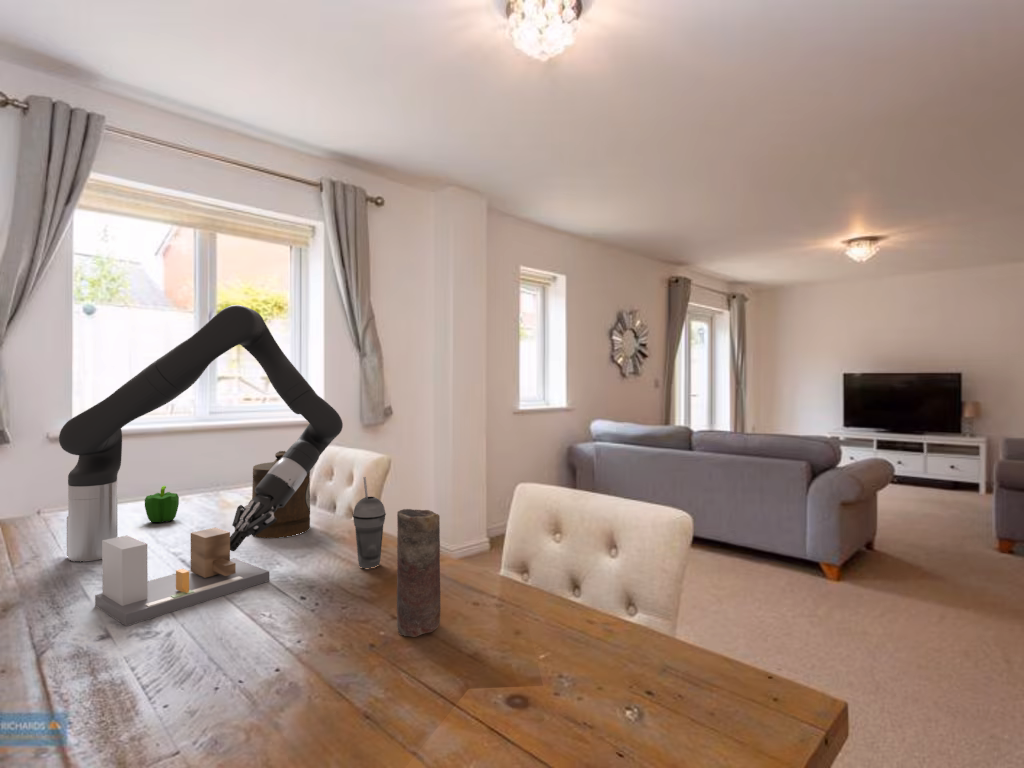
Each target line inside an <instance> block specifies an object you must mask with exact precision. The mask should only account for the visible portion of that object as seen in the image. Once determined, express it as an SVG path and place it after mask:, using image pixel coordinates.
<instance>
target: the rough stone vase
mask: <svg viewBox="0 0 1024 768" xmlns="http://www.w3.org/2000/svg"><path fill="white" fill-rule="evenodd" d="M396 513H397V515H396V516H397V517H396V518H397V519H396V520H397V525H396V527H397V532H396V533H397V535H396V537H397V544H396V545H397V546H396V547H397V549H396V553H397V559H396V561H397V563H396V564H397V565H396V567H397V569H396V573H397V574H396V576H397V577H396V628H397V632H398V634H399V633H400V634H401V635H400V634H399V635H400V636H402V635H404V636H403V637H413V638H417V637H419V636H421V635H423V634H427V633H432V632H434V631H436V629H438V628H439V626H440V623H441V618H442V617H441V563H440V562H441V561H440V560H441V537H440V534H441V533H440V532H441V531H440V528H441V527H440V514H438V513H436V512H434V511H432V510H429V509H412V508H403V509H399V510H398V511H397V512H396Z"/></svg>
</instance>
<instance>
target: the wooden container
mask: <svg viewBox="0 0 1024 768" xmlns="http://www.w3.org/2000/svg"><path fill="white" fill-rule="evenodd" d="M286 452H287V450H279V451H277V452H275V454H274V456H275V458H276V459H275V460H274V461H271V462H264V463H263V462H261V463H259V464H255V465H253V467H252V485H251V487H252V490H251V491H252V493H251V496H252V497H251V500H252V499H253V498H254V497H255V496H256V492H255V488H256V486H257V485H258V484H259V483H260V481H261V480H262V479H263V478H264V477H265V475H266V474H267V473H268V472H269V470H270V469H271V468H272V467H273V466H274V465H275V464H276V463H277V462H278V461H279V460H280V459H281V458H282V456H283V455H284V454H285V453H286ZM310 477H311V471H310V472H309V473H308V474H307V476H306V477H305V479H304V480H303V482H302V484H301V485H300V486H299V488H298V489H297V490H296V492H295V493H294V494H293V495H292V497H291V498H290V499H289V501H288V502H287V503H286V505H285V506H284V507H283V508H277V510H276V511H275V513H274V517H275V518H276V519H277V520H276V522H274V523H273V524H271V525H270V526H268V527H267V528H266V529H264V530H263V531H261V532H260V533H258V534H257V535H255V536H254V537H257V538H260V537H261V538H263V539H280V538H279V537H284V538H288V537H287V536H291V537H293V536H292V535H295V536H297V535H296V534H299V535H301V534H300V533H302V532H304V533H306V532H308V531H309V530H310V529H309V528H311V489H310V488H311V484H310V483H311V482H310V481H311V478H310ZM308 529H309V530H308ZM307 530H308V531H307ZM305 531H306V532H305ZM302 534H303V533H302ZM261 538H260V539H261Z"/></svg>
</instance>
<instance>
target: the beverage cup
mask: <svg viewBox="0 0 1024 768" xmlns="http://www.w3.org/2000/svg"><path fill="white" fill-rule="evenodd" d="M363 485H364V495H365V496H364V497H362V498H361V499H359V501H357V503H356V504H355V506H354V508H353V514H352V518H353V524H354V527H355V539H356V540H355V541H356V550H357V551H356V552H357V561H358V567H359V566H360V567H362V568H371V567H375V566H377V565H379V566H380V564H381V556H382V546H383V545H382V544H383V543H382V542H383V533H384V524H385V520H386V515H387V513H386V510H385V506H384V503H383V502H382V501H381V500H380V499H379V498H377V497H375V496H369V495H368V485H367V478H366V476H364V477H363Z"/></svg>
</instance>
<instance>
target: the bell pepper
mask: <svg viewBox="0 0 1024 768" xmlns="http://www.w3.org/2000/svg"><path fill="white" fill-rule="evenodd" d="M166 489H167V486H166V485H162V486H161V488H160V492H156V493H154V494H150V495H146V497H145V499H144V509H145V514H146V516H147V520H149V522H150V521H151V522H160V523H165V522H164V521H169V522H171V521H170V520H172V521H173V519H175V518H176V517H177V512H178V508H179V505H180V504H179V503H180V497H179V495H178V493H175V492H171V491H167V492H165V491H166ZM162 521H163V522H162Z"/></svg>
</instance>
